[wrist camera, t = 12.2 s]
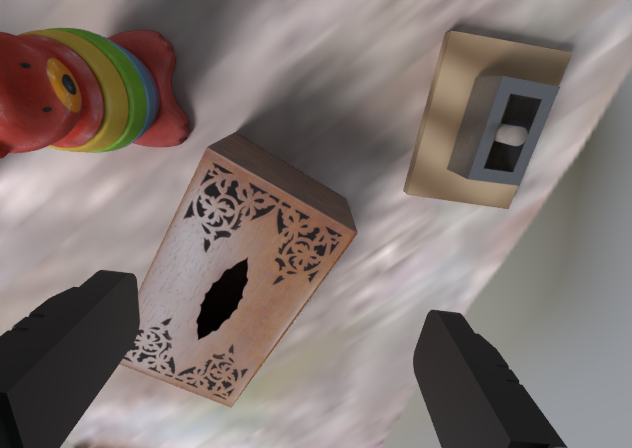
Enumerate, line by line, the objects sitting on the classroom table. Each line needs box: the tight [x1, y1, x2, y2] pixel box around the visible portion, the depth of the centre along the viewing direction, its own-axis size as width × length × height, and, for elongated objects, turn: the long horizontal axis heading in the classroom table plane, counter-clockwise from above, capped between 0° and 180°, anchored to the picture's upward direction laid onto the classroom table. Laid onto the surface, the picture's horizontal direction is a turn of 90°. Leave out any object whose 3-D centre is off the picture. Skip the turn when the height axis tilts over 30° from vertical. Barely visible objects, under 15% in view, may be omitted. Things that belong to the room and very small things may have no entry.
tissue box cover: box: [119, 133, 357, 407], centre depth 35 cm, size 26×14×10 cm, turn 149°
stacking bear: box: [0, 28, 190, 159], centre depth 24 cm, size 11×10×18 cm
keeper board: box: [403, 31, 572, 209], centre depth 31 cm, size 16×12×8 cm
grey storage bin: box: [447, 76, 560, 186], centre depth 31 cm, size 9×6×4 cm, turn 171°
